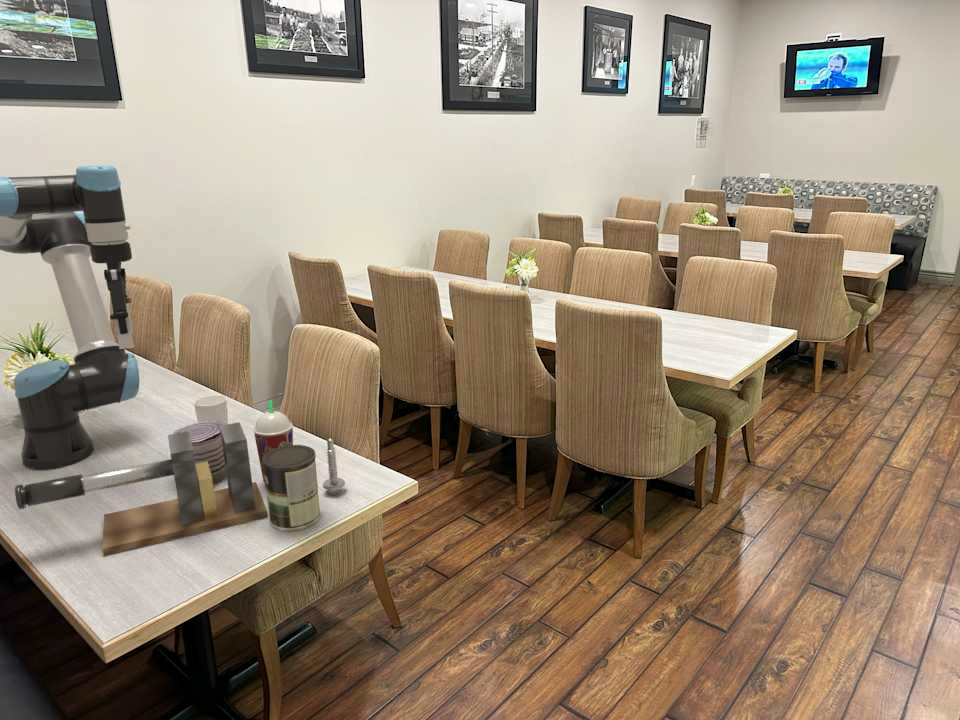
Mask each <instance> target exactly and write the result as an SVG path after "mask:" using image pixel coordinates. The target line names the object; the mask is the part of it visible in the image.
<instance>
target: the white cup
mask: <svg viewBox="0 0 960 720" xmlns="http://www.w3.org/2000/svg"><path fill="white" fill-rule="evenodd" d="M193 405H194V411H195V416H196V420H197V422H205V421H213V420H215V421H217V422H220V423H222V424H225V425H227V424H229V417H228V403H227V397H226V396H224V395H222V394H220V395H219V394H212V395H205V396H201V397H199V398H197V399H195V400H194V402H193Z"/></svg>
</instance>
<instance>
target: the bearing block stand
mask: <svg viewBox="0 0 960 720" xmlns="http://www.w3.org/2000/svg"><path fill="white" fill-rule="evenodd" d="M220 433H221V440H222V447H223V454H224V461H225V468H226V475H227V478H226V481H227V487H225V488H221V489H216V490H214V495H215V501H216V508H217V515H216V516H212V517H208V518H204V514H203V509H202V505H201V499H200V492H199V486H198V479H197V473H196V466H195V460H194V453H193V448H192V443H191V439H190V434H189V431H187V432H182V433H176V434H173V433H172V434H167V441H168V446H169V453H170V459H171V460H172V466H173V472H174V475H173V476H174V483H175V489H176V496H177V498H174V499H171V500H165V501H160V502H156V503H151V504H148V505H147V504H146V505H141V506H136V507H133V508H128V509H123V510H118V511H114V512H109V513H105V514H103V527H102V528H103V529H102V547H101V550H102V555H103V556H105V557H106V556H108V555H113V554H119V553H122V552H126V551H130V550H135V549H138V548H139V549H140V548H142V547H147V546H150V545H151V546H152V545H155V544H159V543H163V542H168V541H172V540H176V539H181V538H184V537H190V536H193V535H197V534H201V533H205V532H206V533H207V532H211V531H215V530H219V529H224V528H227V527H230V526H232V527H233V526H235V525H238V524H244V523H247V522H252V521H256V520H261V519H265V518H269V512H268V509H267V506H266V504H265V502H264V499H263V496H262V494H261V492H260V489H259V487H258V484H257V482H256V481H254V482H253V479H252V470H251V464H250V463H251V461H250V455H249V449H248V447H249V446H248V440H247V437H246V434H245V432H244V430H243V428H242V424H241V422H239V421H238V422H233V423H228V424H227V425H221V426H220Z"/></svg>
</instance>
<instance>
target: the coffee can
mask: <svg viewBox="0 0 960 720" xmlns="http://www.w3.org/2000/svg"><path fill="white" fill-rule="evenodd" d="M316 463H317V462H316V451H315V449H313V448H312V447H311V446H308V445H304V444H303V445H302V444H293V445H288V446H282V447H278V448H275V449H273V450H271V451H269V452H267V453H266V454H265V455H264V456H263V458H262V464H263V468H264V476H265V482H264V484H265V490H266V499H267V508H268V509H267V510H268V518H269V524H270V526H271V527H272V528H273V529H276V530H279V531H283V532H284V531H285V532H295V531H300V530H304V529H306V528H309V527H311V526H313V525H314V524H316V523H317V522H318V521H319V520H320V518H321V509H320V507H321V505H320V497H319V496H320V495H319V487H318V475H317V464H316Z"/></svg>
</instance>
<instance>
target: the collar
mask: <svg viewBox="0 0 960 720" xmlns="http://www.w3.org/2000/svg"><path fill="white" fill-rule="evenodd" d="M195 466H196V473H197V479H198V486H199V492H200V499H201V505H202V509H203V514H204V518H208V517H212V516H216V515H217V508H216V501H215V495H214V491H215V489H214V485H213V481H212V476H211V472H210V468H209V465H208V461H207V462H202V463H197V464H195Z"/></svg>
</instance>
